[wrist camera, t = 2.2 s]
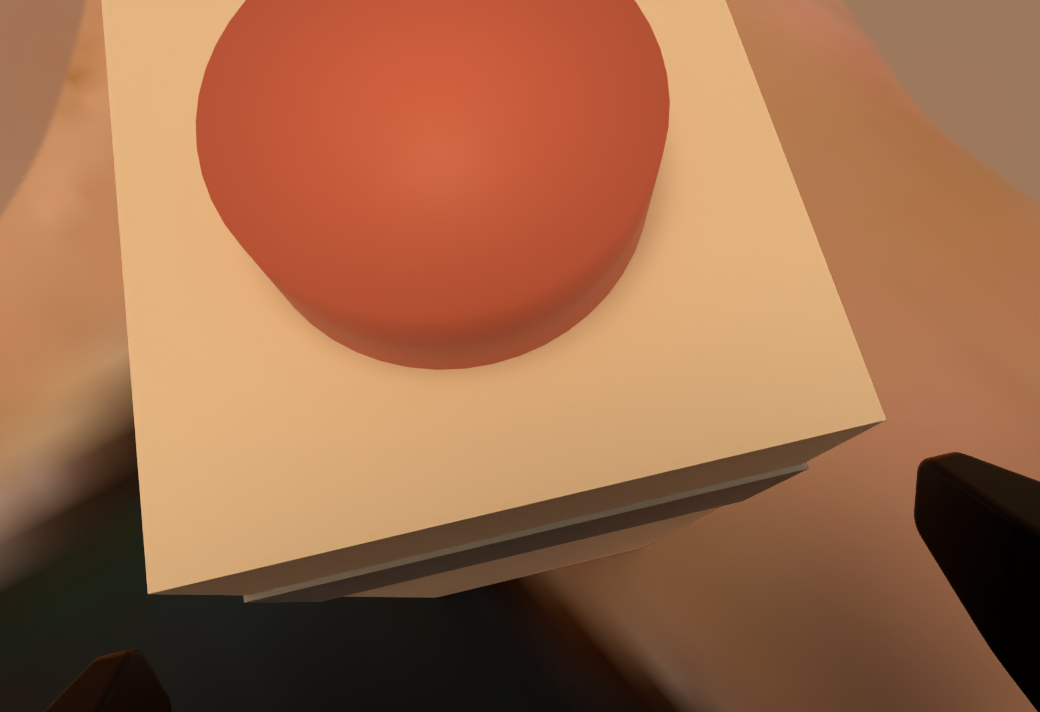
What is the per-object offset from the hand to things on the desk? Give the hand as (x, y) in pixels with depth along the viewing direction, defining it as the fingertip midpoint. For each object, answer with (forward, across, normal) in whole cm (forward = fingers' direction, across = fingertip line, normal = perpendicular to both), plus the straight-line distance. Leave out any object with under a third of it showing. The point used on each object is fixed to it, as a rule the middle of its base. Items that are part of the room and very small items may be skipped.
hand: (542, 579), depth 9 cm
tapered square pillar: (+9, 0, +5) cm, 10 cm away
